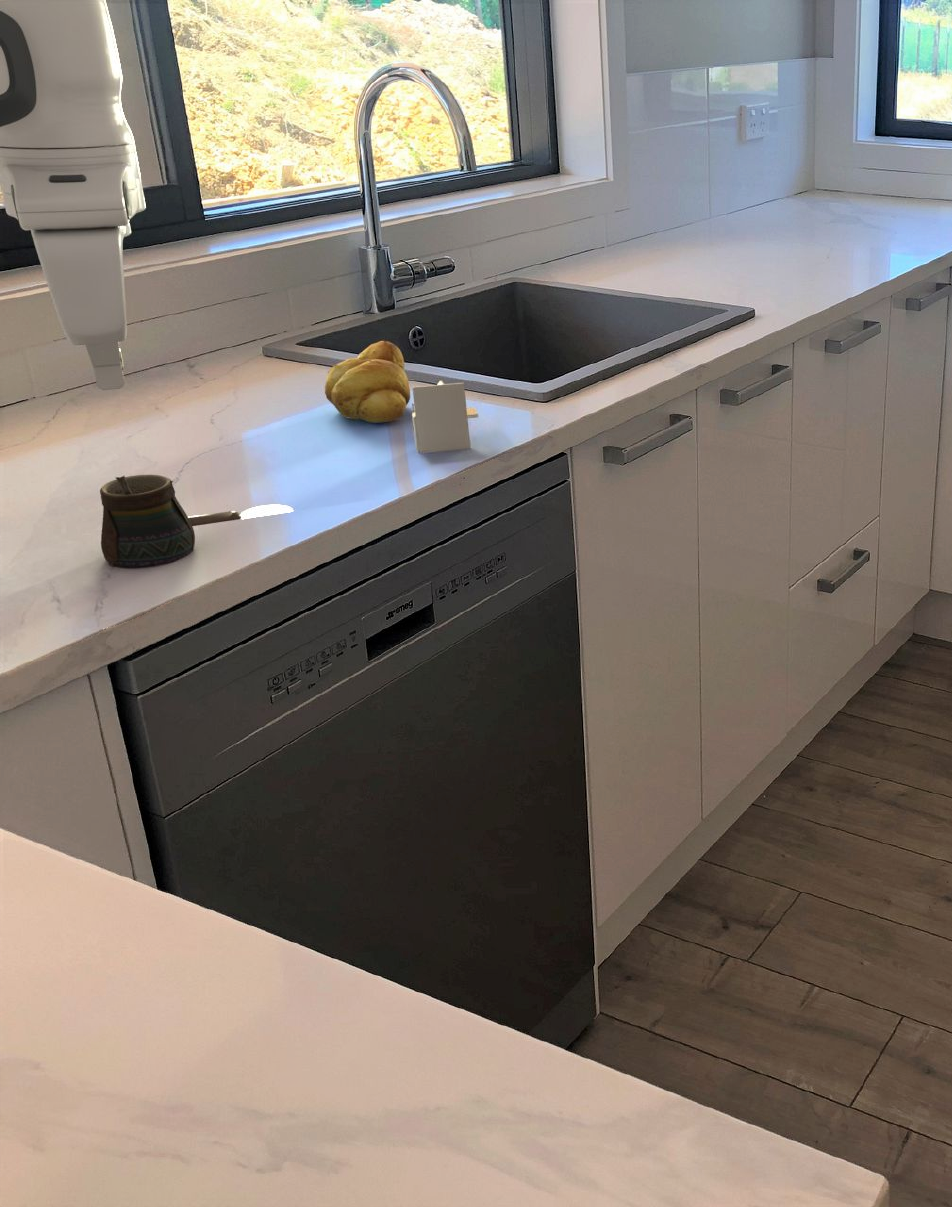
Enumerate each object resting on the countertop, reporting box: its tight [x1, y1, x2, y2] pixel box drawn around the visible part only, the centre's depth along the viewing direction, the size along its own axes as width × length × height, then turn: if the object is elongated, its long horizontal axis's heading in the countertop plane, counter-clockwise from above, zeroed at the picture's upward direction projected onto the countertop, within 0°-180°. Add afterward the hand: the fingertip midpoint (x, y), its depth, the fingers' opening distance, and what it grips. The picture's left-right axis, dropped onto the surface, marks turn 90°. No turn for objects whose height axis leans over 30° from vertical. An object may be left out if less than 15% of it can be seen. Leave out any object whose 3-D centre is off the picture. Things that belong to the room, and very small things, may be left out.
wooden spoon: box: [187, 504, 294, 527], centre depth 122 cm, size 14×5×2 cm, turn 116°
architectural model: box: [411, 380, 479, 454], centre depth 146 cm, size 3×7×7 cm, turn 112°
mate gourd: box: [99, 474, 196, 569], centre depth 111 cm, size 7×8×10 cm
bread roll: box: [324, 340, 411, 424], centre depth 157 cm, size 13×10×8 cm
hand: (111, 380), depth 98 cm, fingers open, 3 cm apart
